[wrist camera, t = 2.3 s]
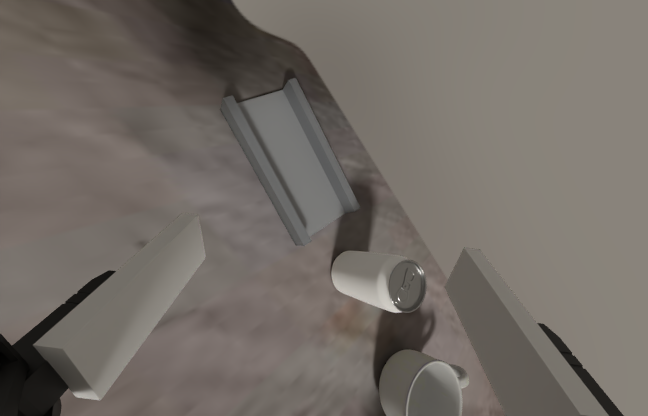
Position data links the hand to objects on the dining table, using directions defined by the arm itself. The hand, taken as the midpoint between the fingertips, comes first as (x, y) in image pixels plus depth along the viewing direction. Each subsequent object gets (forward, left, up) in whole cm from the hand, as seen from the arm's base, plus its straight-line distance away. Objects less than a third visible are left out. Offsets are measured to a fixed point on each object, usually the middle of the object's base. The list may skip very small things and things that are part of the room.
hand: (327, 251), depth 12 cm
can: (+12, +10, -21) cm, 26 cm away
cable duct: (-6, +10, -21) cm, 24 cm away
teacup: (+32, +10, -21) cm, 39 cm away
